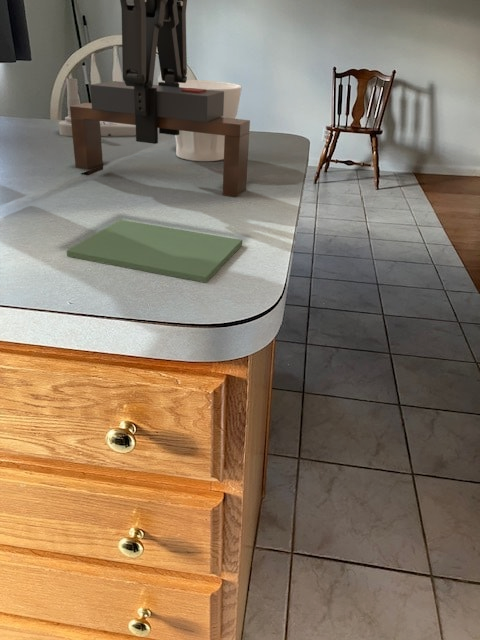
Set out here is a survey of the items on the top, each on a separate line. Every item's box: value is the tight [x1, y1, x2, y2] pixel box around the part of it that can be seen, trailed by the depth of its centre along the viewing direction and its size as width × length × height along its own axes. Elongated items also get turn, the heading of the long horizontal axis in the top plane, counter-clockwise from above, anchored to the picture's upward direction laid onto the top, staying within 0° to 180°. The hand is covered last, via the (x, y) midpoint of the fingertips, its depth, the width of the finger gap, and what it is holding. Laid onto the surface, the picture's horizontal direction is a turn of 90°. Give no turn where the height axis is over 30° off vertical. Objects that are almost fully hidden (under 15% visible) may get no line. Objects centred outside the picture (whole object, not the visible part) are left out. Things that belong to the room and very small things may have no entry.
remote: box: [89, 80, 224, 122], centre depth 70 cm, size 16×6×3 cm, turn 71°
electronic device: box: [58, 77, 136, 137], centre depth 97 cm, size 5×10×15 cm
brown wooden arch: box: [70, 102, 251, 198], centre depth 73 cm, size 24×4×9 cm, turn 72°
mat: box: [66, 219, 243, 283], centre depth 53 cm, size 14×10×1 cm
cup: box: [174, 79, 243, 163], centre depth 88 cm, size 12×12×11 cm
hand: (158, 137), depth 72 cm, fingers closed on remote, 6 cm apart
